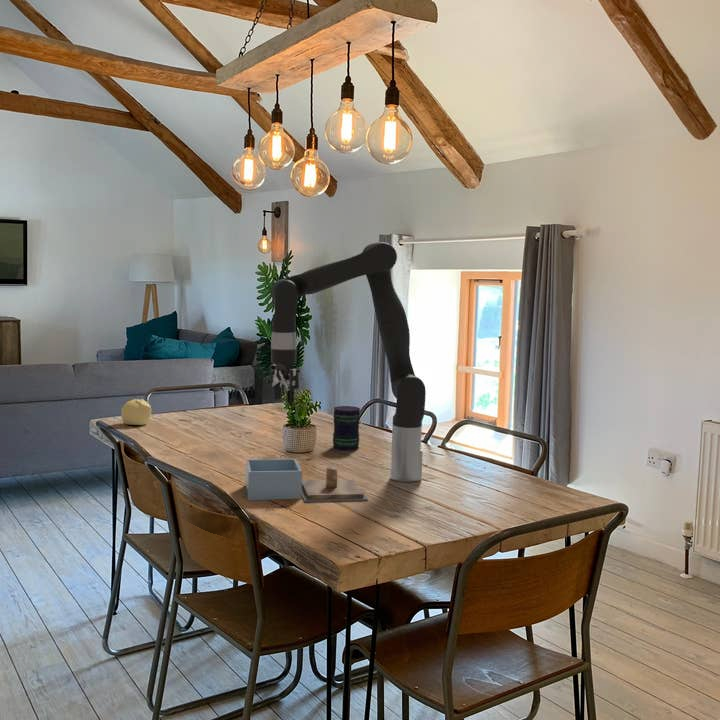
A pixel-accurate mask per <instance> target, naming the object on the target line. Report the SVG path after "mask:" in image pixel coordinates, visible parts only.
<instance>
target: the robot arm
mask: <svg viewBox="0 0 720 720" xmlns="http://www.w3.org/2000/svg"><path fill="white" fill-rule="evenodd" d="M397 259H398V254H397V251H396V249H395V247H394V246H393V245H391V244H390V243H387V242H383V241H378V242H373V243H370V244H368V245H366V246H364V248H363V250H362V252H361V253H358V254H356V255H354V256H350V257H349V258H345V259H341V260H338V261H334V262H330V263H327V264H323V265H320V266H318V267H315V268H312V269H309V270H305V271H304V272H301V273H300V274H299V273H298V274H296V275H291V276H288V277H285V278H282V279H278V280H276V281H274V282H273V284H272V285H271V287H270V290H269V292H270V296H271V298H272V300H273V301H274V313H273V315H272V317H271V318H272V319H271V339H270V342H271V343H270V354H271V355H270V357H271V358H270V362H271V363H272V364H269V365H270V366H269V384H270V385H272V388H273V399H274V400H281V398H282V387H281V386H282V384H283V386H285V389H286V404H294V403H295V391H296V390H298V389H299V388H300V387H299V369H298V368H293V364H296V363H297V348H298V347H297V343H298V342H297V331H296V330H297V329H296V327H297V326H296V325H297V323H296V317H297V309H298V303H299V298H301V297H303V296H306V295H308V296H309V295H313V294H316V293H319V292H322V291H324V290H328V289H330V288H333V287H336V286H337V285H341V284H343V283H345V282H348V281H350V280H353V279H356V278H358V277H359V278H360V277H363V276H366V279H367V282H368V285H369V289H370V293H371V297H372V304H373V309H374V312H375V316H376V317H375V318H376V322H377V326H378V331H379V335H380V339H381V343H382V346H383V350H384V354H385V356H386V359H387V364H388V371H389V380H390V387H391V392H392V395H393V397H394V398H395V399H396V404H395V405H396V406H395V413H394V415H393V416H392V431H391V433H392V434H391V455H390V456H391V458H390V462H391V463H390V478H391V480H393V481H396V482H401V483H402V482H403V483H412V482H413V483H414V482H417V481H422V480H423V479H422V478H423V454H424V453H423V450H422V433H423V430H422V428H423V427H422V426H423V420H424V416H425V409H426V408H425V407H426V395H427V394H426V393H427V392H426V386H425V383H424V381H423V380H422V379H421V378H419V377H417V376H416V374H415V370H414V368H413V364H412V361H411V356H410V355H411V354H410V343H411V335H410V328H409V327H410V326H409V323H408V319H407V318H408V316H407V314H406V310H405V307H404V305H403V303H402V301H401V299H400V297H399V296H398V294H397V292H396V289H395V288H394V284H393V281H392V276H391V269H393V268H394V266H395V265H396V263H397Z"/></svg>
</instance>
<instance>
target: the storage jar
mask: <svg viewBox="0 0 720 720" xmlns="http://www.w3.org/2000/svg"><path fill="white" fill-rule="evenodd" d="M360 411H361V408H360V407H358V406H350V405H348V406H347V405H345V406H344V405H341V406H335V407H333V419H332V420H333V434H332V435H333V436H332V444H333V446H332V449H333V450H336V451H342V452H343V451H345V452H353V451H357V450H359V449H360V448H359V444H360V432H359V431H360V430H359V429H360V425H359V424H360V423H361V420H360V419H361V413H360Z"/></svg>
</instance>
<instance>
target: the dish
mask: <svg viewBox="0 0 720 720" xmlns="http://www.w3.org/2000/svg"><path fill="white" fill-rule="evenodd" d="M244 480H245V481H244V482H245V484H244V485H245V490H246V495H247V500H248V501H266V500H301V499H302V480H303V470H302V468H301V466H300V464H299V462H298V460H297V459H296V458H279V459H278V458H273V459H261V458H259V459H258V458H257V459H254V458H253V459H251V458H250V459H245V479H244Z"/></svg>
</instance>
